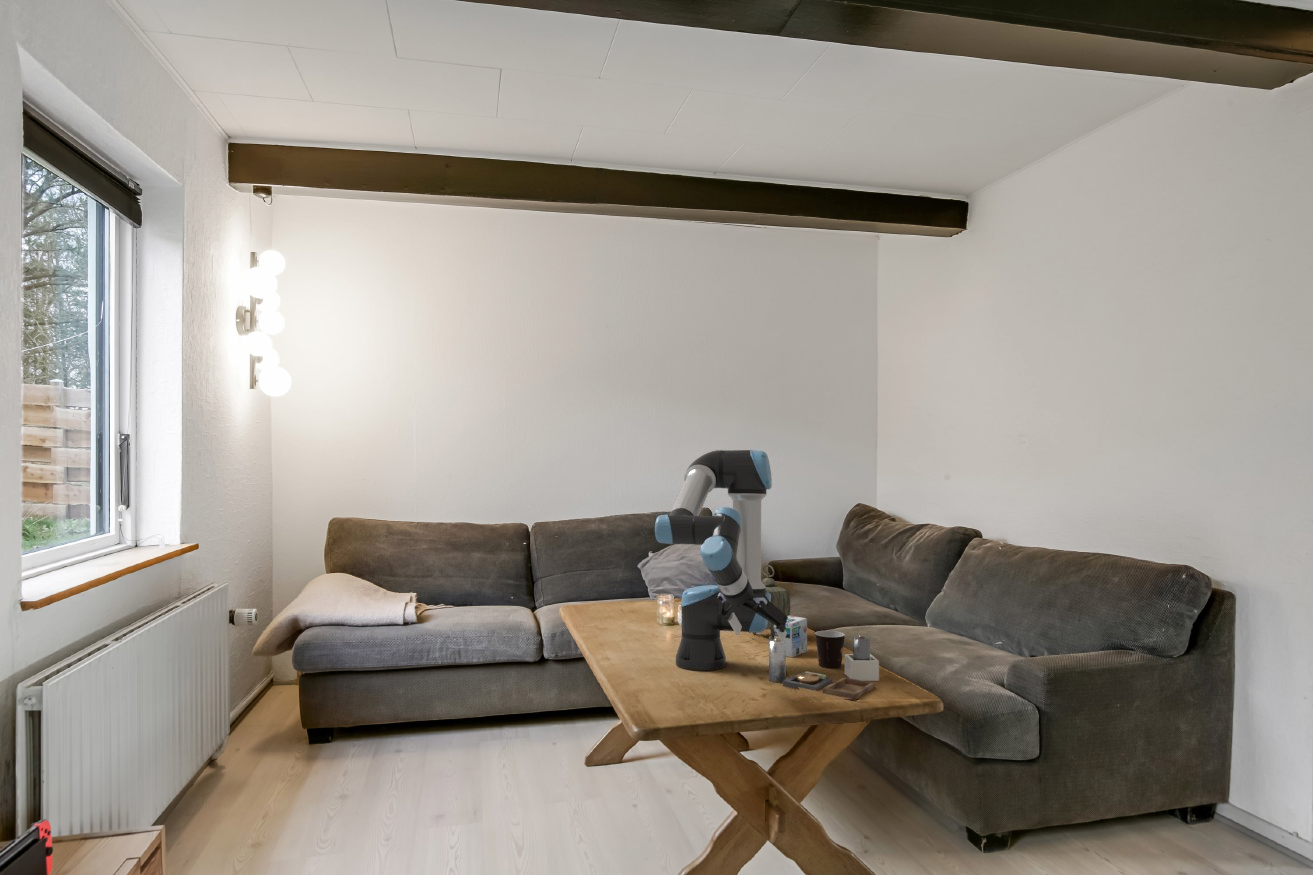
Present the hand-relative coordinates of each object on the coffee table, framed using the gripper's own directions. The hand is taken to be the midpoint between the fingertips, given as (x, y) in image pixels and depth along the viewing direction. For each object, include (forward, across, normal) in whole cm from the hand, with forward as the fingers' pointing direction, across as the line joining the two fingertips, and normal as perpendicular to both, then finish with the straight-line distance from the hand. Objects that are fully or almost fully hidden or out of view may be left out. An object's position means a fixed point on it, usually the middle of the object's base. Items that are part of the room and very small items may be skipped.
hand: (761, 633), depth 215 cm
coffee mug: (+31, +7, +10) cm, 33 cm away
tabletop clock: (+50, -26, +30) cm, 64 cm away
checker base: (+18, +9, -3) cm, 20 cm away
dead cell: (+27, +19, +8) cm, 34 cm away
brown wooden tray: (+18, +21, -3) cm, 28 cm away
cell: (+18, 0, -3) cm, 18 cm away
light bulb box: (+39, -10, +18) cm, 44 cm away
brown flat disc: (+17, +9, -2) cm, 19 cm away
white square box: (+28, +19, +7) cm, 34 cm away
